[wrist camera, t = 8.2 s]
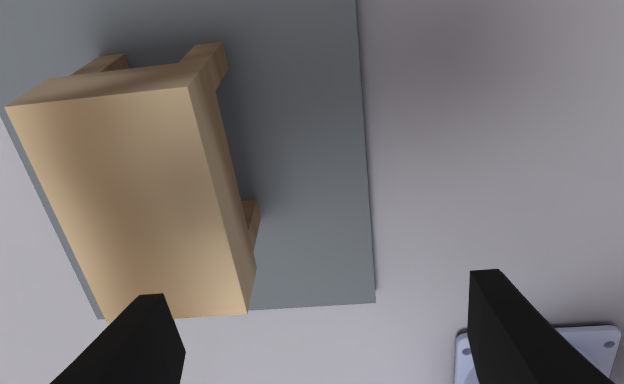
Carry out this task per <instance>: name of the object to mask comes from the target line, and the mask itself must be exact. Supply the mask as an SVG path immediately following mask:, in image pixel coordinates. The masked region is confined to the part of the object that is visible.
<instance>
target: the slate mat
mask: <svg viewBox="0 0 624 384" xmlns="http://www.w3.org/2000/svg"><path fill="white" fill-rule="evenodd" d="M215 42H223V46H224V51H225V55H226V60H227V65H228V71H227V73H226V74H225V76H224V78H223V79H222V81H221V83H220V84H219V86H218V88H217V89H216V91H215V92H216V96H217V100H218V104H219V109H220V113H221V117H222V121H223V126H224V130H225V134H226V138H227V143H228V147H229V151H230V155H231V160H232V164H233V168H234V172H235V177H236V181H237V185H238V189H239V194H240V198H241V201H246V200H257V204H258V208H259V213H260V218H261V221H260V225H259V230H258V234H257V238H256V243H255V247H254V252H253V253H254V257H255V262H256V266H257V270H256V274H255V279H254V284H253V289H252V294H251V299H250V304H249V309H248V310H264V309H281V308H297V307H314V306H331V305H348V304H365V303H376V297H375V282H374V267H373V252H372V237H371V223H370V208H369V193H368V178H367V163H366V148H365V133H364V119H363V104H362V89H361V74H360V59H359V44H358V30H357V15H356V0H0V116H1V118H2V120H3V123H4V125H5V127H6V129H7V131H8V133H9V135H10V137H11V139H12V141H13V143H14V146H15V148H16V150H17V152H18V154H19V156H20V158H21V160H22V162H23V164H24V166H25V169H26V171H27V173H28V175H29V177H30V179H31V181H32V183H33V185H34V187H35V189H36V192H37V194H38V196H39V198H40V200H41V202H42V204H43V206H44V208H45V210H46V212H47V215H48V217H49V219H50V221H51V223H52V225H53V227H54V229H55V231H56V233H57V235H58V237H59V240H60V242H61V244H62V246H63V248H64V250H65V252H66V254H67V256H68V258H69V260H70V263H71V265H72V267H73V269H74V271H75V273H76V275H77V277H78V279H79V281H80V283H81V286H82V288H83V290H84V292H85V294H86V296H87V298H88V300H89V302H90V304H91V306H92V309H93V311H94V313H95V315H96V317H97V319H105V318H104V316H103V314H102V311H101V309H100V307H99V305H98V303H97V301H96V299H95V297H94V295H93V293H92V290H91V288H90V286H89V284H88V282H87V280H86V278H85V276H84V274H83V272H82V269H81V267H80V265H79V263H78V261H77V259H76V257H75V255H74V253H73V251H72V248H71V246H70V244H69V242H68V240H67V238H66V236H65V234H64V232H63V230H62V227H61V225H60V223H59V221H58V219H57V217H56V215H55V213H54V211H53V209H52V206H51V204H50V202H49V200H48V198H47V196H46V194H45V192H44V190H43V188H42V186H41V183H40V181H39V179H38V177H37V175H36V173H35V171H34V169H33V167H32V165H31V162H30V160H29V158H28V156H27V154H26V152H25V150H24V148H23V146H22V144H21V141H20V139H19V137H18V135H17V133H16V131H15V129H14V127H13V125H12V123H11V120H10V118H9V116H8V114H7V112H6V110H5V108H4V107H5V106H6V105H8V104H10V103H11V102H13V101H14V100H16V99H17V98H19V97H21V96H22V95H24V94H25V93H27V92H28V91H30V90H31V89H33V88H35V87H36V86H38V85H39V84H41V83H42V82H44V81H46V80H47V79H49V78H54V77H63V76H70V75H72V74H73V73H75V72H76V71H78V70H79V69H80V68H82V67H83V66H85V65H86V64H88V63H89V62H91V61H92V60H94V59H95V58H97V57H98V56H106V55H114V54H122V53H125V55H126V58H127V62H128V65H129V68H130V69H132V68H141V67H149V66H158V65H166V64H175V63H178V62H179V61H180V60H181V59H182V58H183V57H184V56H185V55H186V54H187V53H188V52H189V51H190V50H191V49H192V48H193V46H194V45H198V44H206V43H215Z"/></svg>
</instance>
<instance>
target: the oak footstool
mask: <svg viewBox="0 0 624 384" xmlns="http://www.w3.org/2000/svg"><path fill="white" fill-rule="evenodd" d="M227 71H228V65H227V60H226V55H225V51H224V46H223V42H215V43H206V44H198V45H194V46H193V48H192V49H191V50H190V51H189V52H188V53H187V54H186V55H185V56H184V57H183V58H182V59H181V60H180V61H179V62H178V63H175V64H166V65H158V66H149V67H141V68H132V69H130V68H129V65H128V62H127V58H126V55H125V53H122V54H114V55H106V56H98V57H97V58H95V59H94V60H92V61H91V62H89V63H88V64H86V65H85V66H83V67H82V68H80V69H79V70H78V71H76V72H75V73H73V74H72V75H70V76H63V77H54V78H49V79H47V80H46V81H44V82H42V83H41V84H39V85H38V86H36V87H35V88H33V89H31V90H30V91H28V92H27V93H25V94H24V95H22V96H21V97H19V98H17V99H16V100H14V101H13V102H11V103H10V104H8V105H6V106H5V107H4V108H5V110H6V112H7V114H8V116H9V118H10V120H11V123H12V125H13V127H14V129H15V131H16V133H17V135H18V137H19V139H20V141H21V144H22V146H23V148H24V150H25V152H26V154H27V156H28V158H29V160H30V162H31V165H32V167H33V169H34V171H35V173H36V175H37V177H38V179H39V181H40V183H41V186H42V188H43V190H44V192H45V194H46V196H47V198H48V200H49V202H50V204H51V206H52V209H53V211H54V213H55V215H56V217H57V219H58V221H59V223H60V225H61V227H62V230H63V232H64V234H65V236H66V238H67V240H68V242H69V244H70V246H71V248H72V251H73V253H74V255H75V257H76V259H77V261H78V263H79V265H80V267H81V269H82V272H83V274H84V276H85V278H86V280H87V282H88V284H89V286H90V288H91V290H92V293H93V295H94V297H95V299H96V301H97V303H98V305H99V307H100V309H101V311H102V314H103V316H104V318H105V320H106V322H107V323H112V322H113V321H114V320H115V319H116V318H117V317H118V315H119V314H120V313H121V312H122V311H123V310H124V309H125V308H126V307H127V306H128V305H129V304H130V303H131V302H132V301H133V300H134V299H135V298H137V297H138V296H139V295H144V294H158V293H164V296H165V299H166V301H167V304H168V307H169V309H170V312H171V314H172V317H173V319H175V318H191V317H206V316H222V315H238V314H247V313H248V309H249V304H250V299H251V294H252V289H253V284H254V279H255V274H256V270H257V266H256V262H255V257H254V253H253V252H254V247H255V243H256V238H257V234H258V230H259V225H260V221H261V218H260V213H259V208H258V204H257V200H246V201H241V198H240V194H239V189H238V185H237V181H236V177H235V172H234V168H233V164H232V160H231V155H230V151H229V147H228V143H227V138H226V134H225V130H224V126H223V121H222V117H221V113H220V109H219V104H218V100H217V96H216V92H215V91H216V89H217V88H218V86H219V84H220V83H221V81H222V79H223V78H224V76H225V74H226V73H227Z"/></svg>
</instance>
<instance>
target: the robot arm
mask: <svg viewBox="0 0 624 384" xmlns="http://www.w3.org/2000/svg"><path fill="white" fill-rule="evenodd" d="M620 339H621V333H620V331H619V329H618V328H617V327H616V326H612V325H605V326H586V327H567V328H554V327H553V326H552V325H551V324H550V323H549V322H548V321H547V320H546V319H545V318H544V317H543V316H542V315H541V314H540V313H539V312H538V311H537V310H536V309H535V308H534V307H533V306H532V304H531V303H530V302H529V301H528V300H527V299H526V298H525V297H524V296H523V295H522V294H521V293H520V292H519V290H518V289H517V288H516V287H515V286H514V285H513V284H512V283H511V281H510V280H509V279H508V278H507V277H506V276H505V275H504V274H503V272H501V271H500V270H499V269H489V270H475V271H470V285H469V307H468V329H467V333H463V334H461V335H459V336H458V337H457V339H456V351H455V371H454V384H615V383H614V382H612V381H611V380H610V379H609V376H610V373H611V369H612V366H613V363H614V359H615V356H616V353H617V349H618V346H619V343H620ZM466 348H468V349H466ZM185 353H186V351H185V348H184V346H183V343H182V341H181V338H180V335H179V333H178V330H177V328H176V325H175V322H174V320H173V317H172V314H171V312H170V309H169V307H168V304H167V301H166V299H165V296H164V293H158V294H144V295H139V296H138V297H137V298H135V299H134V300H133V301H132V302H131V303H130V304H129V305H128V306H127V307H126V308H125V309H124V310H123V311H122V312H121V313H120V314H119V315H118V317H117V318H116V319H115V320H114V321H113V322H112V323H111V324H110V325H109V326H108V327H107V328H106V329H105V330H104V331H103V332H102V333H101V334H100V335H99V336H98V337H97V338H96V339H95V340H94V341H93V342H92V343H91V344H90V345H89V346H88V347H87V348H86V349H85V350H84V351H83V352H82V353H81V354H80V355H79V356H78V357H77V358H76V359H75V360H74V361H73V362H72V363H71V364H70V365H69V366H68V367H67V368H66V369H65V370H64V371H63V372H62V373H61V374H60V375H59V376H57V377H56V378H55V379H54V380H53V381H52V382H51V383H50V384H180V380H181V375H182V370H183V364H184V359H185Z"/></svg>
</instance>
